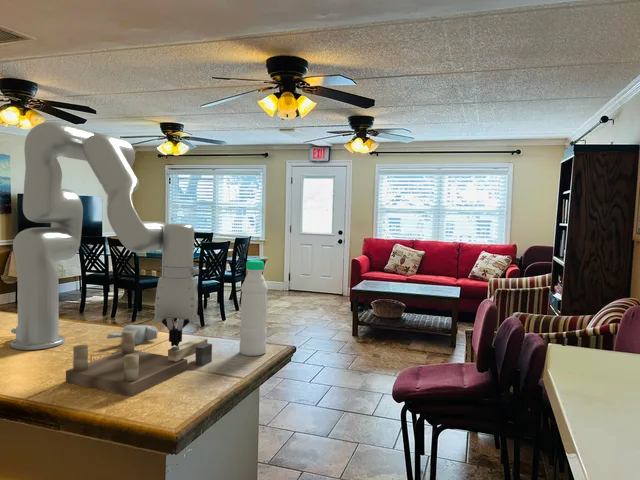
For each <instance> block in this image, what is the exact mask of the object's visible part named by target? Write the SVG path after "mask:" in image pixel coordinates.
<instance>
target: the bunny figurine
mask: <svg viewBox="0 0 640 480" xmlns="http://www.w3.org/2000/svg"><path fill="white" fill-rule="evenodd" d="M124 331H134V332H135V342H134V346H137V345H141V344H144V343H145V342H146V341H147V342H148V341H151V340H156V339H157V338H158V333H159V329H158V328H157V327H156V326H155V325H154V326H153V325H147V324H140V325H139V324H137V325H136V324H127V325H125V326H124V327H123V329H122V332H124ZM122 332H118V333H116V332H113V333H108V334H107V337H106V339H116V338H121V339H122Z"/></svg>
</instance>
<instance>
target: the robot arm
mask: <svg viewBox="0 0 640 480" xmlns="http://www.w3.org/2000/svg"><path fill="white" fill-rule="evenodd" d="M23 150H24V160H25V161H24V162H25V168H24V169H25V172H24V173H25V174H24V181H23V182H24V183H23V184H24V185H23V193H22V194H23V195H22V212H23V215H24V217H25V218H26V220H28V221H31V222H34V223H42V224H43V223H44V224H45V223H47V224H49V223H50V226H49V227H48V226H47V227H46V226H45V227H43V226H42V227H30V228H25V229H24V230H21V231H20V232H18V233H17V234H16V236H15V237H14V239H13V242H12V251H13V255H14V256H13V257H14V260H15V265H16V276H17V325H16V327H15V328H12V329H11V330H10V332H11V334H15V338H14V339H12V340H11V342H10V347H11V348H12V349H15V350H19V351H20V350H22V351H33V350H44V349H49V348H54V347H57V346H60V345H62V344H64V343H65V341H66V337H65V336H64V335H61V334H60V333H59V329H60V328H59V327H60V326H59V318H60V317H59V313H60V310H59V309H60V307H59V306H60V305H59V302H60V300H59V297H60V294H59V292H60V291H59V289H60V286H59V283H60V282H59V275H58V272H57V271H58V270H56V269H57V268H55V265H54V263H53V262H59V261H66V260H69V259H72V258H73V257H75V256H76V255H77V253H78V252H79V250H80V246H81V240H82V231H83V230H82V228H83V217H84V216H83V215H84V208H83V207H84V206H83V202H82V200H81V198H80V197H79V195H78V194H77V193H76V192H75V191H73V190H70V189H68V188H62V180H63V172H62V171H63V170H62V168H61V164H60V162H59V160H58V159H57V158H58V157H59V158H60V157H61V158H62V157H63V158H67V159H74V160H80V161H85V162H87V163H88V164H89V167H90V168H91V170H92V172H93V173H94V176H95V177H96V179H97V181H99V184H100V186H101V187H102V189H103V190H104V192H105V194H106V196H107V197H106V198H107V199H106V213H107V219H108V223H109V225H110V226H111V229H112V231H113V232H114V234H115V236H116V237H117V238H118V240H119V242H120V243H121V244H122V246H123V247H124V248H125V249H127V250H128V251H130V252H132V253H136V254H138V253H146V252H153V251H154V252H155V251H162V252H161V253H162V254H161V255H162V256H161V276H160V277H158V281H157V286H156V292H155V300H154V317H153V321H154V322H156V323H160V324H163V326H165V327H166V328H167V330H168V342H169V343H170V347H177V346H179V345H180V343H181V342H182V340H183V329H184V328H185V327H187V325H189V324H193V323H197V322H198V320H199V317H198V309H199V308H198V307H199V299H198V298H199V297H198V296H199V294H198V282H197V278H196V277H194V276H195V275H199V274H200V269H199V268H197V267H196V268H195V267H194V255H195V254H194V249H195V248H194V247H195V246H194V245H195V229H194V226H192V224H186V223H168V222H164V221H153V220H152V221H142V220H141V218H140V216H139V215H138V213H137V211H136V209H135V207H134V204H133V201H132V195H133V194H134V193H135V192H136V191H137V190H138V188H139V187H140V181H139V179H138V177H137V176H136V174H135V172H134V170H133V169H132V166H133V165H134V162H135V159H136V151H135V149H134V147H133V146H132V145H131V143H130V142H129V141H127V140H126V139H123V138H119V137H117V136H113V135H108V134H105V133H99V132H96V131H92V130H89V129H84V128H81V127H77V126H74V125H70V124H66V123H62V122H57V121H45V122H39V123H38V124H36V125H35V126H34V127H31V129H30V131H28V133H27V135H26V138H25V140H24V149H23ZM175 319H178V322H177V326H175Z"/></svg>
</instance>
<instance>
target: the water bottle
mask: <svg viewBox="0 0 640 480" xmlns="http://www.w3.org/2000/svg"><path fill="white" fill-rule="evenodd" d="M245 268H246V271H247V275H246V276H245V277H244V281H243V283H242V284H241V287H240V291H241V297H240V299H241V300H240V330H239V332H240V333H239V335H240V336H239V337H240V340H239V341H240V342H239V352H240V354H241V355H243V356H247V357H258V356H262V355H264V354H265V353H266V351H267V340H266V338H267V321H268V320H267V318H268V284H267V282H266V279H265V277H264V275H263V272H264V269H265V262H264V261H263V260H260V259H259V260H257V259H251V260H247V261H246V263H245Z"/></svg>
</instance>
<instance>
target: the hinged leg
mask: <svg viewBox="0 0 640 480" xmlns="http://www.w3.org/2000/svg"><path fill="white" fill-rule="evenodd" d="M204 343H208V338H202V337H198V338H195V339H194V340H190V341H187V342H185V343H182V344H179V345H178V346H171V348H169V349H168V350H167V356H168V360H171V361H178V360H181V359H186V358H187V357H190V356H193V355H196V347H197V346H199V345H202V344H204Z"/></svg>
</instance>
